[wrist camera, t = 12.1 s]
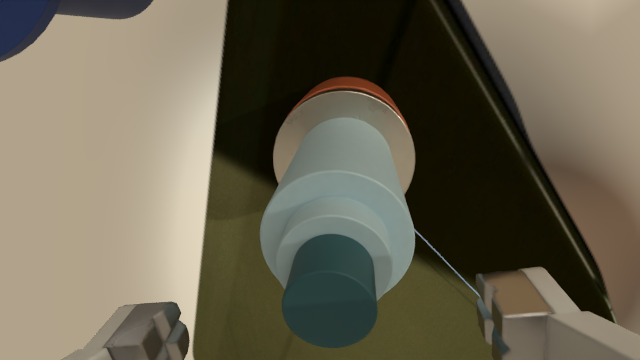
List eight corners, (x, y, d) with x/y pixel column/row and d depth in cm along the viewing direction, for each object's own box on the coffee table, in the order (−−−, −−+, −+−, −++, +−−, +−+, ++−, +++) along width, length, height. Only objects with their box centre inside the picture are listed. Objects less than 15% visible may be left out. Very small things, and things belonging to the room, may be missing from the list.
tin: (285, 84, 29) (256, 102, 20) (394, 66, 28) (410, 77, 19) (305, 183, 32) (287, 234, 23) (404, 170, 30) (422, 219, 22)
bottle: (288, 125, 21) (202, 231, 9) (386, 110, 20) (428, 206, 8) (306, 211, 23) (253, 391, 11) (396, 201, 22) (441, 384, 10)
